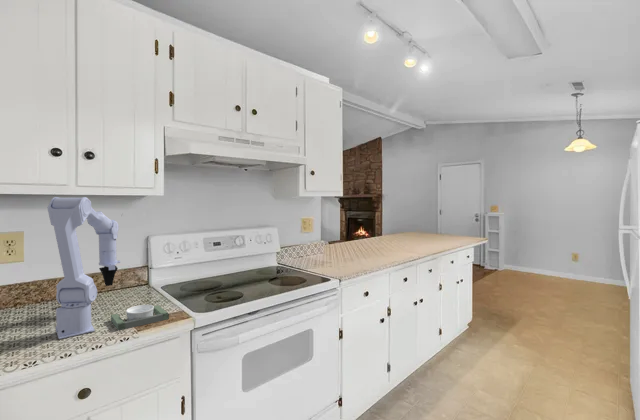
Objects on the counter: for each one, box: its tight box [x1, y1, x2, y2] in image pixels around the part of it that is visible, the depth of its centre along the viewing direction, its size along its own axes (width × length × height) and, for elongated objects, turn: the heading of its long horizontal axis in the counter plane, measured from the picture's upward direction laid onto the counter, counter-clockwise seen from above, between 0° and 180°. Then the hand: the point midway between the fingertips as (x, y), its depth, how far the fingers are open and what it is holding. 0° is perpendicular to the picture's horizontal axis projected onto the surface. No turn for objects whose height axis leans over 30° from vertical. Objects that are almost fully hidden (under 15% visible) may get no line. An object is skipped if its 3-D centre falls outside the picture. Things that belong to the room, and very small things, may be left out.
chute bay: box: [110, 304, 170, 331], centre depth 123 cm, size 16×12×2 cm
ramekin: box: [125, 304, 155, 321], centre depth 123 cm, size 9×9×4 cm
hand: (108, 285), depth 134 cm, fingers closed
